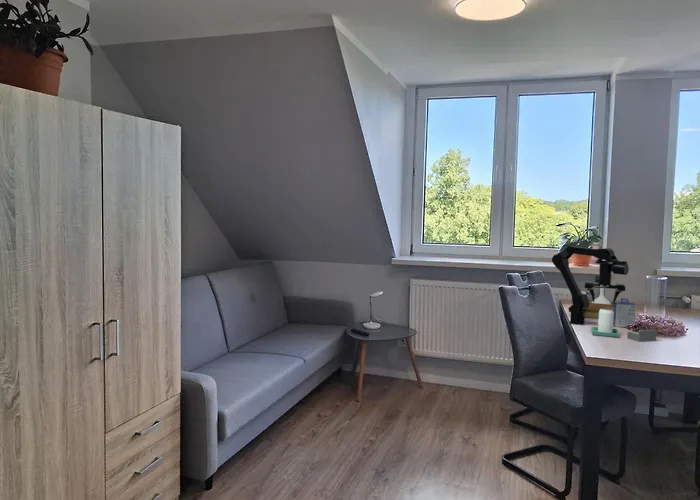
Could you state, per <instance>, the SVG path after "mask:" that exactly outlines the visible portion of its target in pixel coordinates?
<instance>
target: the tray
mask: <svg viewBox="0 0 700 500" xmlns="http://www.w3.org/2000/svg"><path fill="white" fill-rule="evenodd" d="M591 334H592V336H593V337H594V336H595V337H605V338H615V339H620V332H619V330H618V328H613V332H612V333H608V332H598V326H591Z"/></svg>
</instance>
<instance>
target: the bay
mask: <svg viewBox="0 0 700 500" xmlns="http://www.w3.org/2000/svg"><path fill="white" fill-rule="evenodd" d="M626 338H627V339H628V340H633V341H636V342H639V343H640V342H653V341H657V329H642V330H641V329H640V330H639V329H638V330H637V333H634V332H631V331H627V337H626Z"/></svg>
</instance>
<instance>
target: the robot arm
mask: <svg viewBox="0 0 700 500" xmlns="http://www.w3.org/2000/svg"><path fill="white" fill-rule="evenodd" d="M574 254H575V255H581V256H590V257H594V258H596V259H598V260H597V261H595V264H597V265H598V264H599V270H598V275H595V276H594V282H593V281H592V282H591V281H585V282H584V289H586V290H587V291H589V293H590V295H591V299H592V301H593V302H594V300H595V291H594V288H598V289H600V288H605V289H611V290H612V289H613V290H614V295H613V299H612V305H614V303H616V300H617V298H618V296H619V294H620V293H623V292H625V291H626V285H625V284H622V283H616V284H612V273H613V274H614V275H624V276H626V275H628V273H629V271H630V270H629V269H630V268H629V265H628V261H626V260H624V261H621V260H619V259H618V258H617V257H616V254H615V252H614V249H612V248H609V247H608V248H607V247H605V248H590V247H581V246H575V245H569V246H567V247H566V248H564V249H563V250H561V251H560V252H559V253H557V254H554V255H553V256H552V258H551V261H552V263H553V265H554V266H555V268H556V269H557V270H558V271H560V274H561V276H562V278H563V280H564V282H565V284H566V286H567V288H568V290H569V292H570V295H571V302H572V305H570V306H569V307H568V312H569V313H570V319H569V324H573V325H582V326H583V325H584V324H585V319H586V318H585V315H584V312H585V310H586V309H587V308H588V307H589V303H590V301H591V300H590V299H589V298H588V296H587V293H582V291H581V290H580V288H579V285H578V284H577V282H576V280H575V277H574V276H573V274H572V272H571V269H570V262H569V259H570V258H572V256H573V255H574ZM600 285H602V286H600Z"/></svg>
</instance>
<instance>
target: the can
mask: <svg viewBox="0 0 700 500" xmlns="http://www.w3.org/2000/svg"><path fill="white" fill-rule="evenodd" d="M613 316H614V312H613V309H611V308H600V310H599V319H598V324H597V327H598V332H608V333H612V332H613V329H614V325H613Z"/></svg>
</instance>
